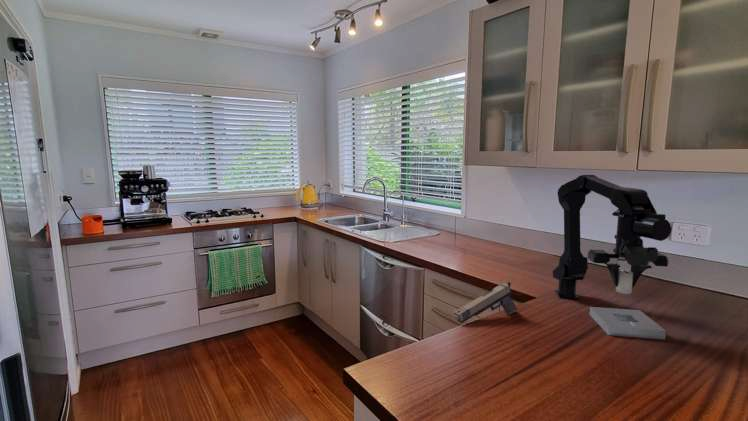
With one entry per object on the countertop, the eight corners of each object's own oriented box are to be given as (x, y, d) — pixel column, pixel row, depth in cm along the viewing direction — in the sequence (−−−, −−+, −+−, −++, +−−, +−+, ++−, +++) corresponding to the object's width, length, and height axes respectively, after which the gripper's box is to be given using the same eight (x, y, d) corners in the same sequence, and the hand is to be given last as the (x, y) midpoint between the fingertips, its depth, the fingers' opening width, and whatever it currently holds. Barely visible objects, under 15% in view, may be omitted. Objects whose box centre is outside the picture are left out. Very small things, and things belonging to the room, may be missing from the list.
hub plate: (589, 314, 118) (590, 306, 118) (638, 317, 116) (639, 309, 115) (608, 335, 104) (609, 325, 104) (665, 339, 102) (666, 330, 102)
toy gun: (461, 338, 115) (452, 311, 113) (514, 306, 121) (506, 279, 119) (466, 342, 113) (456, 314, 110) (519, 308, 119) (511, 281, 116)
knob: (613, 289, 111) (615, 268, 110) (627, 290, 110) (629, 269, 110) (619, 293, 107) (620, 272, 107) (633, 294, 107) (635, 273, 106)
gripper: (603, 237, 101) (599, 293, 103) (683, 240, 97) (676, 298, 99) (588, 230, 112) (585, 281, 114) (659, 232, 108) (654, 285, 110)
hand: (623, 286), depth 109 cm, fingers closed on knob, 4 cm apart
